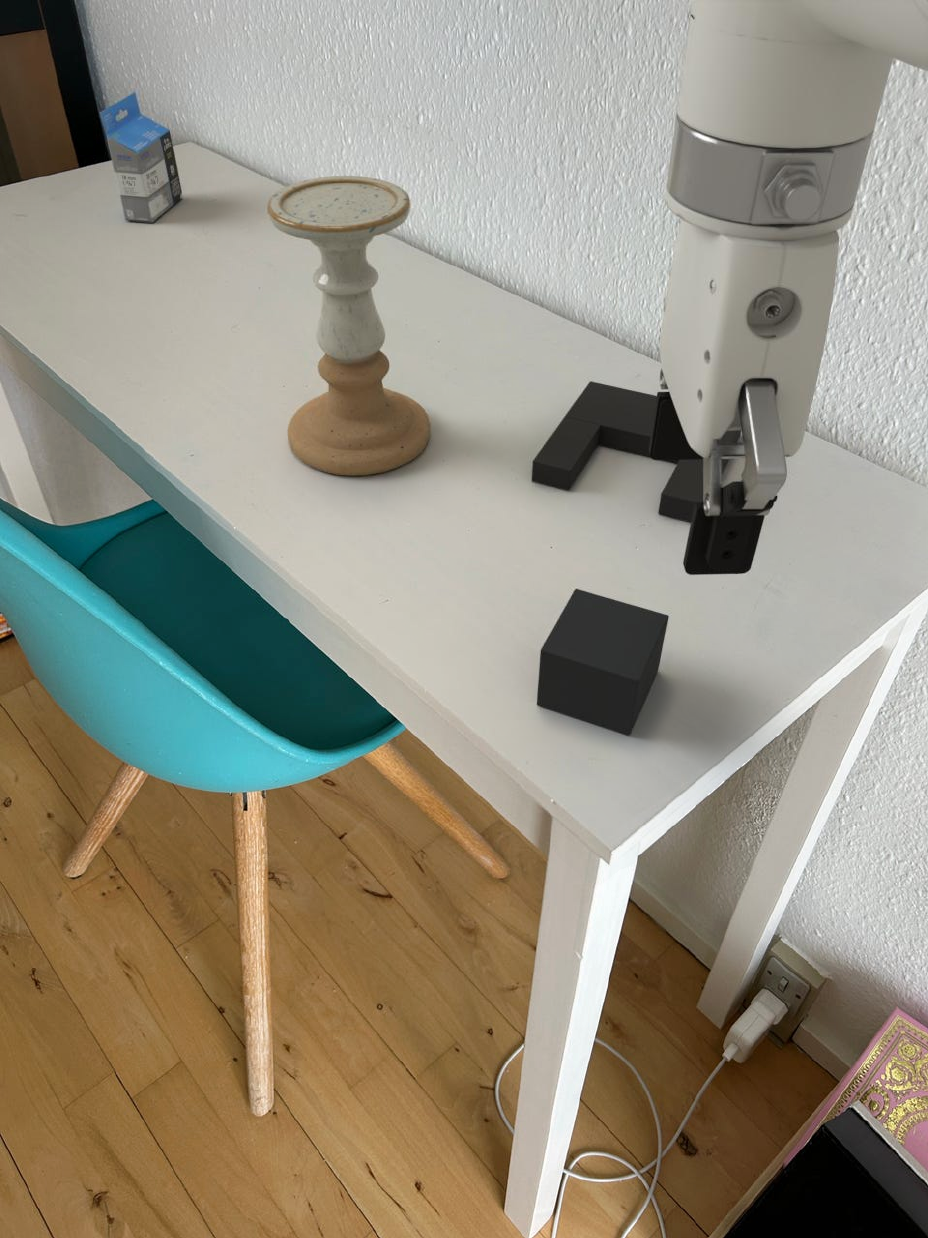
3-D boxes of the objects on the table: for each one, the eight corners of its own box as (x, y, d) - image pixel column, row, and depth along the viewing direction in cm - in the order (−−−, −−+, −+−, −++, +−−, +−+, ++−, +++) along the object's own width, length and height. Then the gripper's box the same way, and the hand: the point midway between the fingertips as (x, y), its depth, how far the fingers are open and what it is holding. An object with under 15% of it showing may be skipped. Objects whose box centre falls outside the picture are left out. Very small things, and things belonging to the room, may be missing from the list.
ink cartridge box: (153, 224, 119) (129, 115, 111) (124, 221, 120) (98, 112, 112) (184, 197, 126) (164, 92, 117) (156, 195, 126) (134, 90, 118)
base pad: (740, 434, 85) (745, 414, 83) (698, 525, 76) (703, 504, 74) (588, 400, 89) (590, 380, 88) (531, 481, 80) (532, 460, 79)
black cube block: (658, 670, 64) (669, 615, 61) (629, 736, 60) (639, 681, 57) (569, 643, 66) (575, 587, 63) (536, 705, 62) (540, 649, 59)
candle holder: (275, 474, 81) (234, 230, 67) (303, 397, 90) (273, 168, 76) (423, 480, 80) (413, 235, 66) (437, 402, 89) (431, 171, 75)
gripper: (939, 255, 33) (814, 622, 45) (796, 102, 46) (728, 419, 57) (719, 259, 33) (652, 626, 45) (636, 103, 45) (601, 422, 57)
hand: (695, 509), depth 51 cm, fingers open, 9 cm apart
